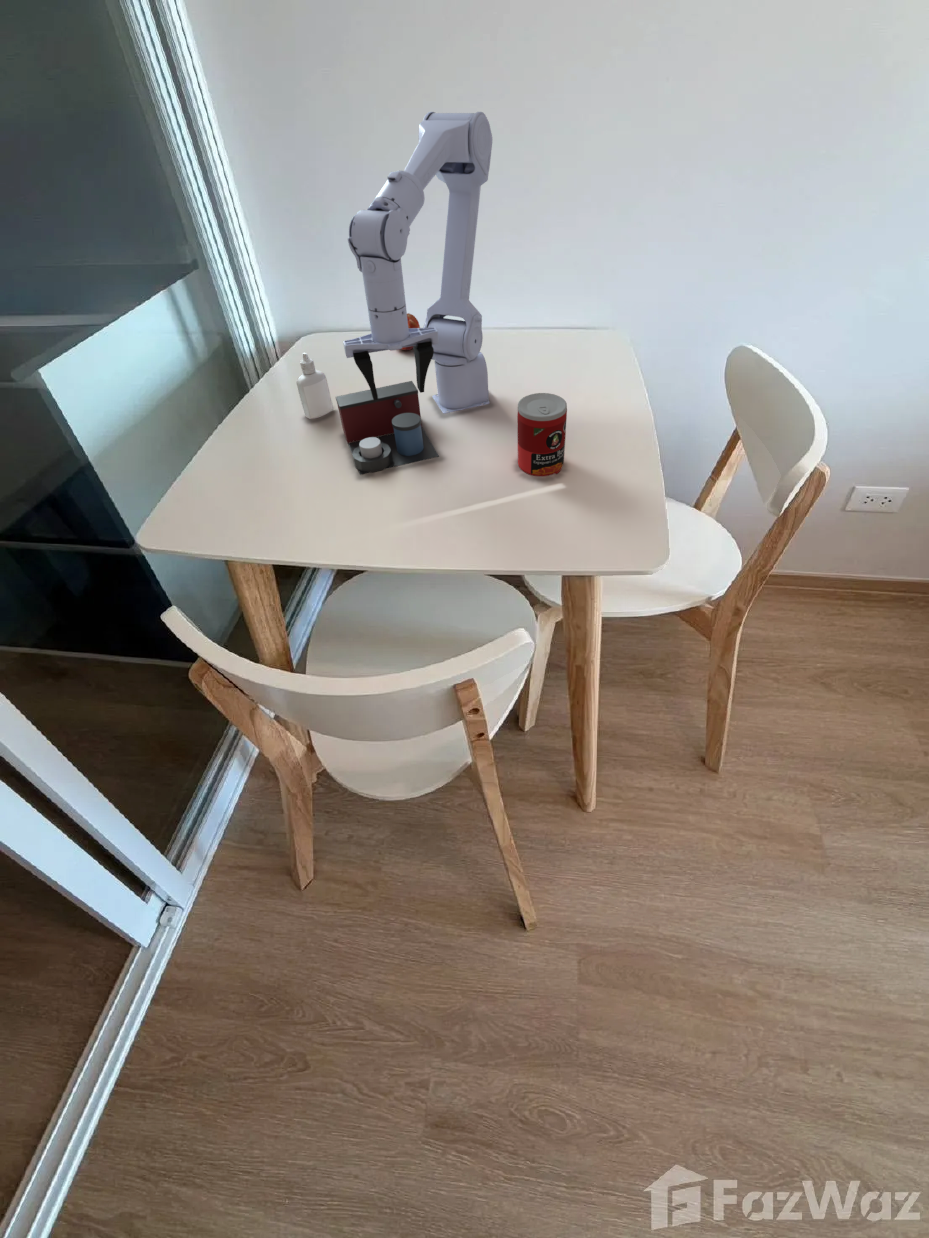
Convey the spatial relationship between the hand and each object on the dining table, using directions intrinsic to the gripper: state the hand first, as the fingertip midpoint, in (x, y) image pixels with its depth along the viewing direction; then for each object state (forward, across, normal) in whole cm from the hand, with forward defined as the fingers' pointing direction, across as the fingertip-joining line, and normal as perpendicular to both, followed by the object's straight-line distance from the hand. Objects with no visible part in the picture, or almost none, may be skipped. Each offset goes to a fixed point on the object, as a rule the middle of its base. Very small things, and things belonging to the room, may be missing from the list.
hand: (398, 393), depth 102 cm
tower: (+11, -2, +9) cm, 14 cm away
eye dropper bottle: (+11, -13, +20) cm, 26 cm away
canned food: (+11, +21, -12) cm, 26 cm away
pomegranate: (+10, +10, +44) cm, 46 cm away
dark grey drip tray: (+11, -2, +1) cm, 11 cm away
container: (+10, +1, 0) cm, 10 cm away
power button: (+9, -6, -2) cm, 11 cm away
